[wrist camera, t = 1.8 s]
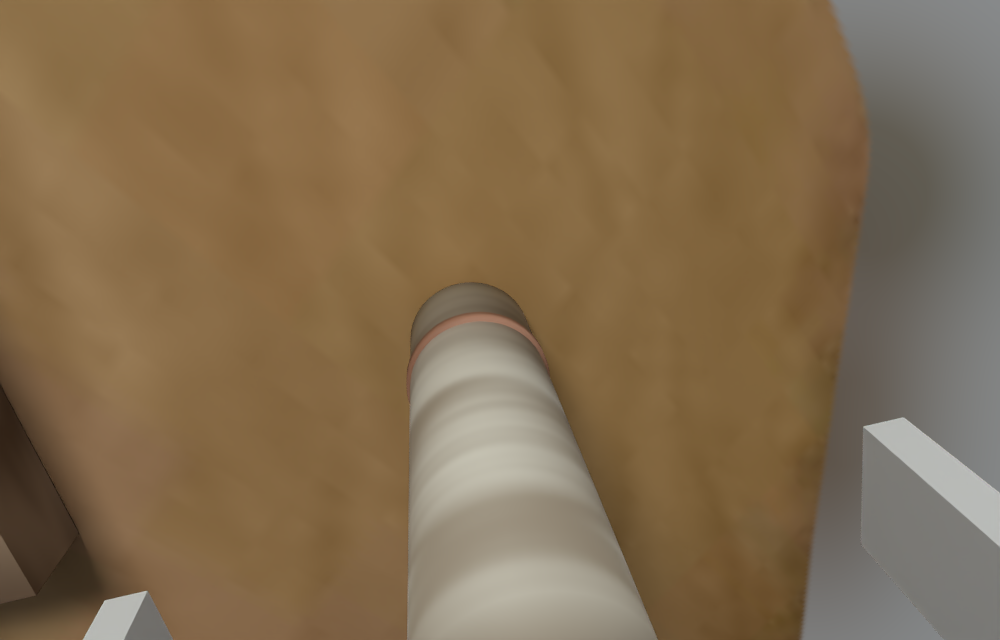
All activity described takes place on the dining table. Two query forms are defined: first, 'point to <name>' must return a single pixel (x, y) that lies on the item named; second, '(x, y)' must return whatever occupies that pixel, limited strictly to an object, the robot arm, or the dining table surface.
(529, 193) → the dining table surface
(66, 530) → the board
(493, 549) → the peg
